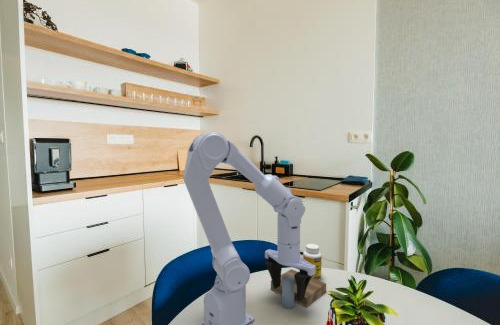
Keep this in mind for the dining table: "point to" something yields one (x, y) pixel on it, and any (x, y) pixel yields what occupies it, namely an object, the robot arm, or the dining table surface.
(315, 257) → the supplement bottle
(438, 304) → the dining table surface
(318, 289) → the socket block
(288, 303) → the dowel
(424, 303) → the dining table surface
